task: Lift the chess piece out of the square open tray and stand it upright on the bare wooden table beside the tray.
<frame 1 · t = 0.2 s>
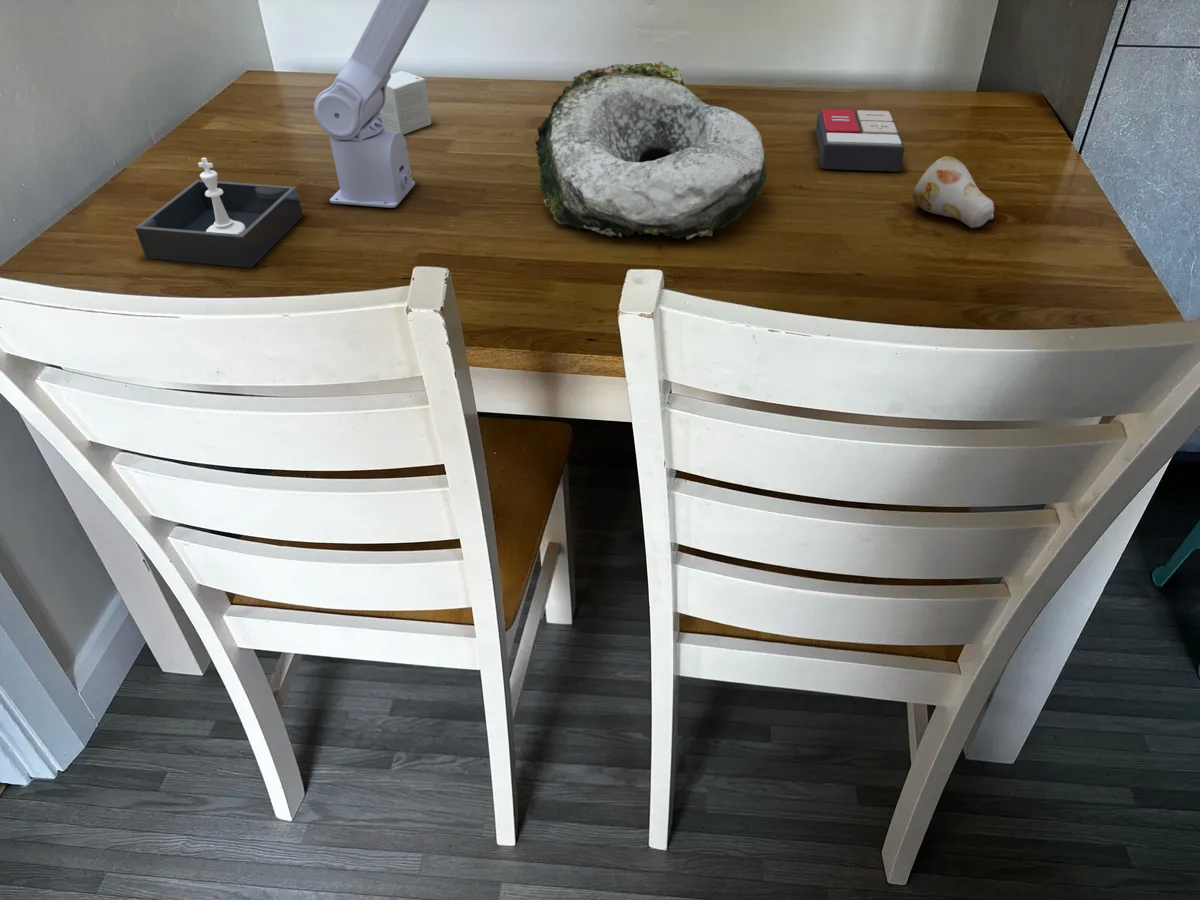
square open tray: (227, 236, 116), on the table
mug: (952, 218, 117), on the table
stone basin: (652, 203, 122), on the table
calculator: (855, 152, 134), on the table
chess piece: (227, 235, 116), resting on square open tray
product box: (405, 127, 144), on the table
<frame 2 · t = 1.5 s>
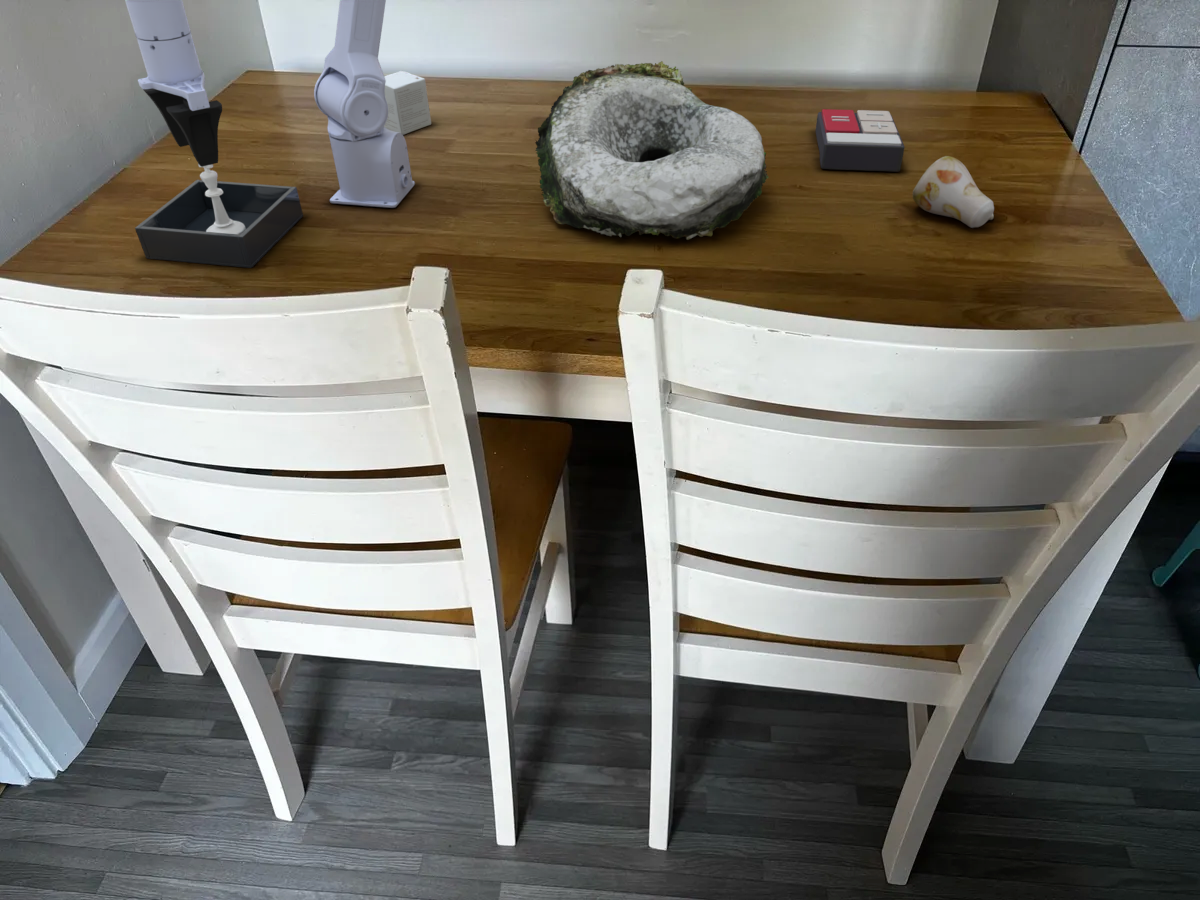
hand: (198, 154, 109), 11 cm above the table, tool pointing down, fingers open, 7 cm apart
nothing on the table moved.
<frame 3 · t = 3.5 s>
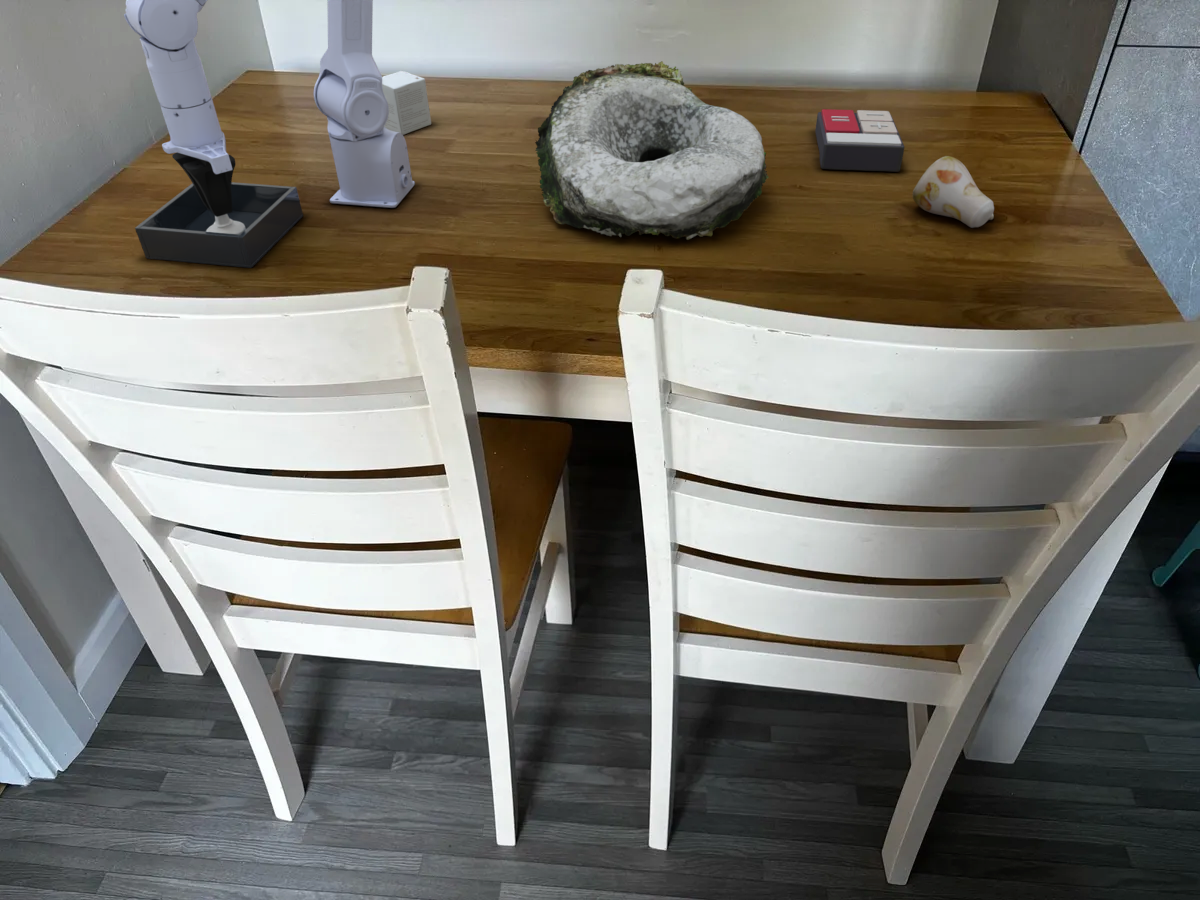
hand: (219, 210, 113), 4 cm above the table, tool pointing down, fingers closed on chess piece
chess piece: (227, 235, 116), resting on square open tray, touching gripper
everything else where it was.
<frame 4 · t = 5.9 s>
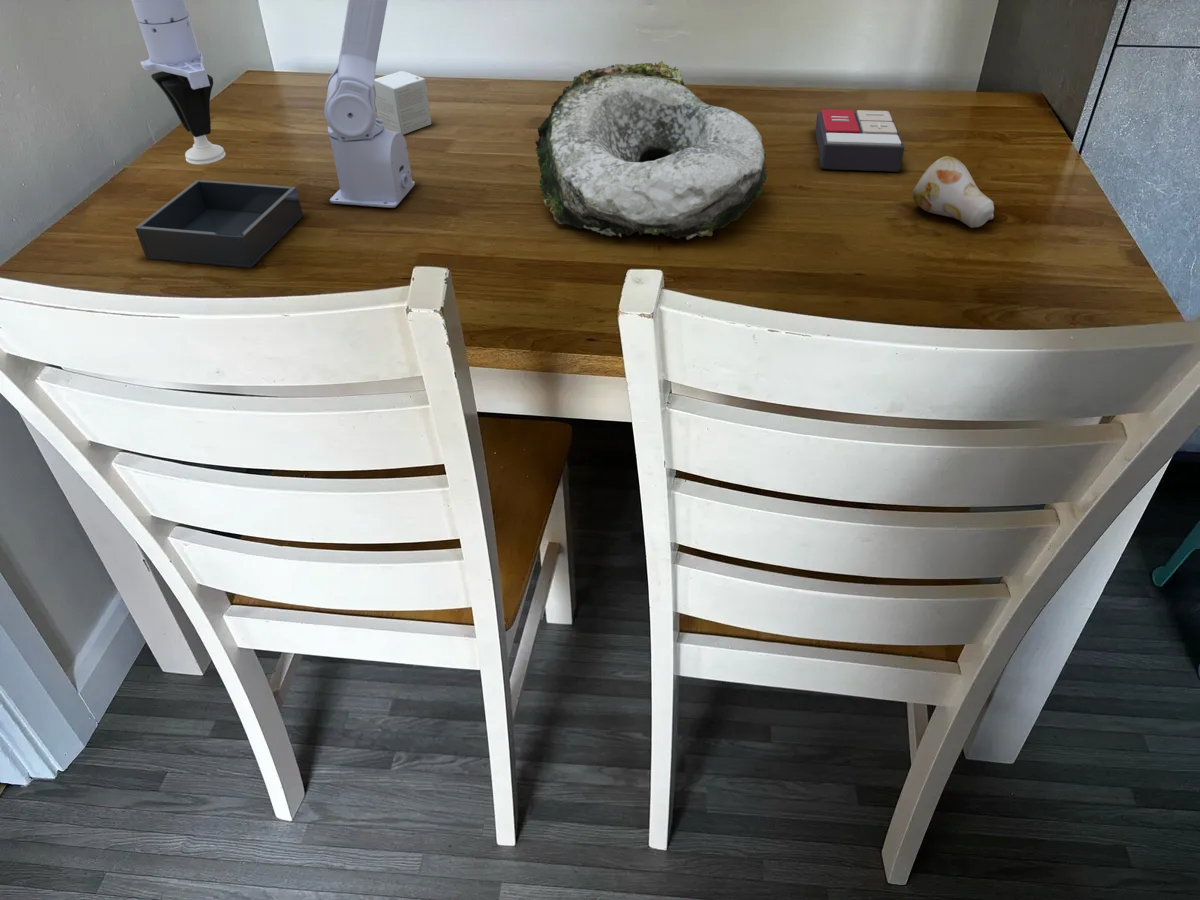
hand: (198, 131, 116), 10 cm above the table, tool pointing down, fingers closed on chess piece
chess piece: (206, 158, 118), point 7 cm above the table, touching gripper
everything else where it was.
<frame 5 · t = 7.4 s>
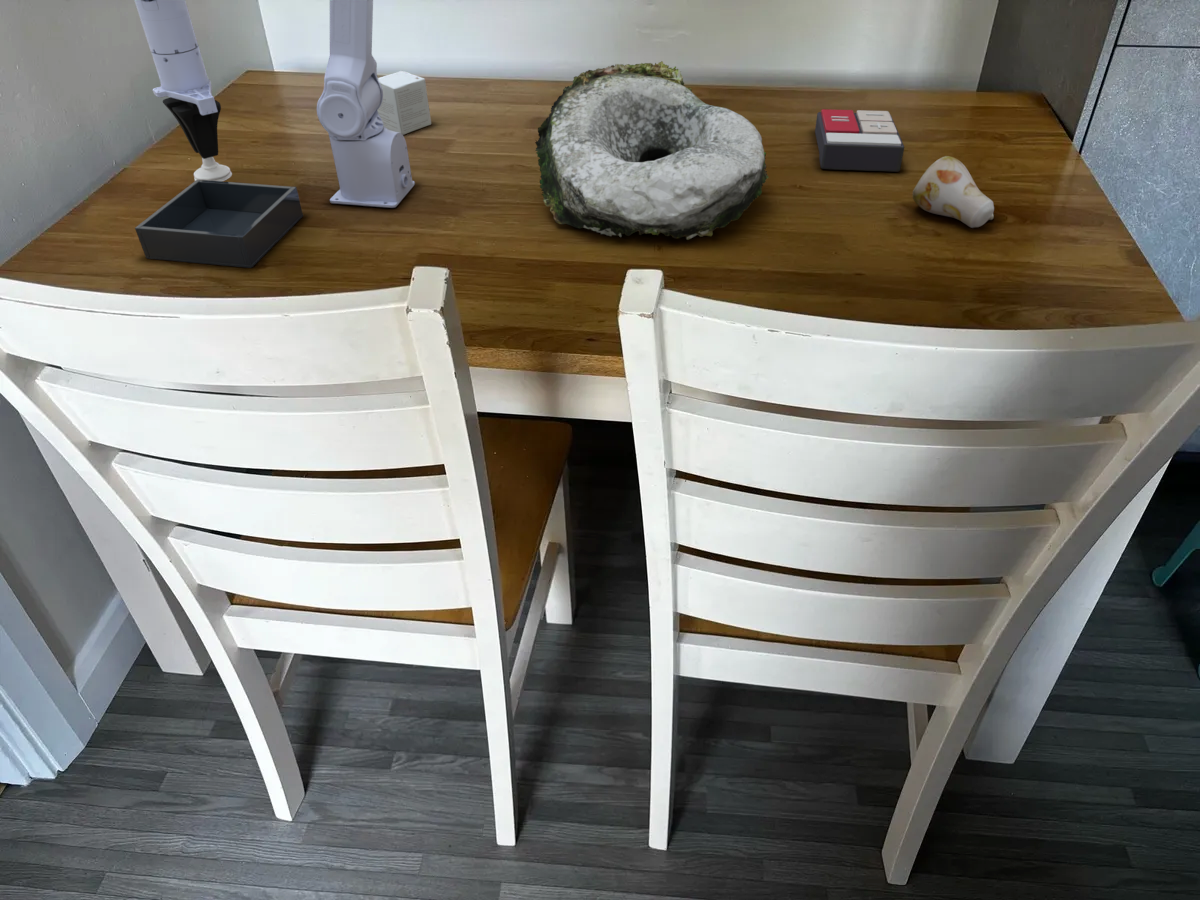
hand: (206, 153, 122), 6 cm above the table, tool pointing down, fingers closed on chess piece
chess piece: (213, 178, 125), point 2 cm above the table, touching gripper
everything else where it was.
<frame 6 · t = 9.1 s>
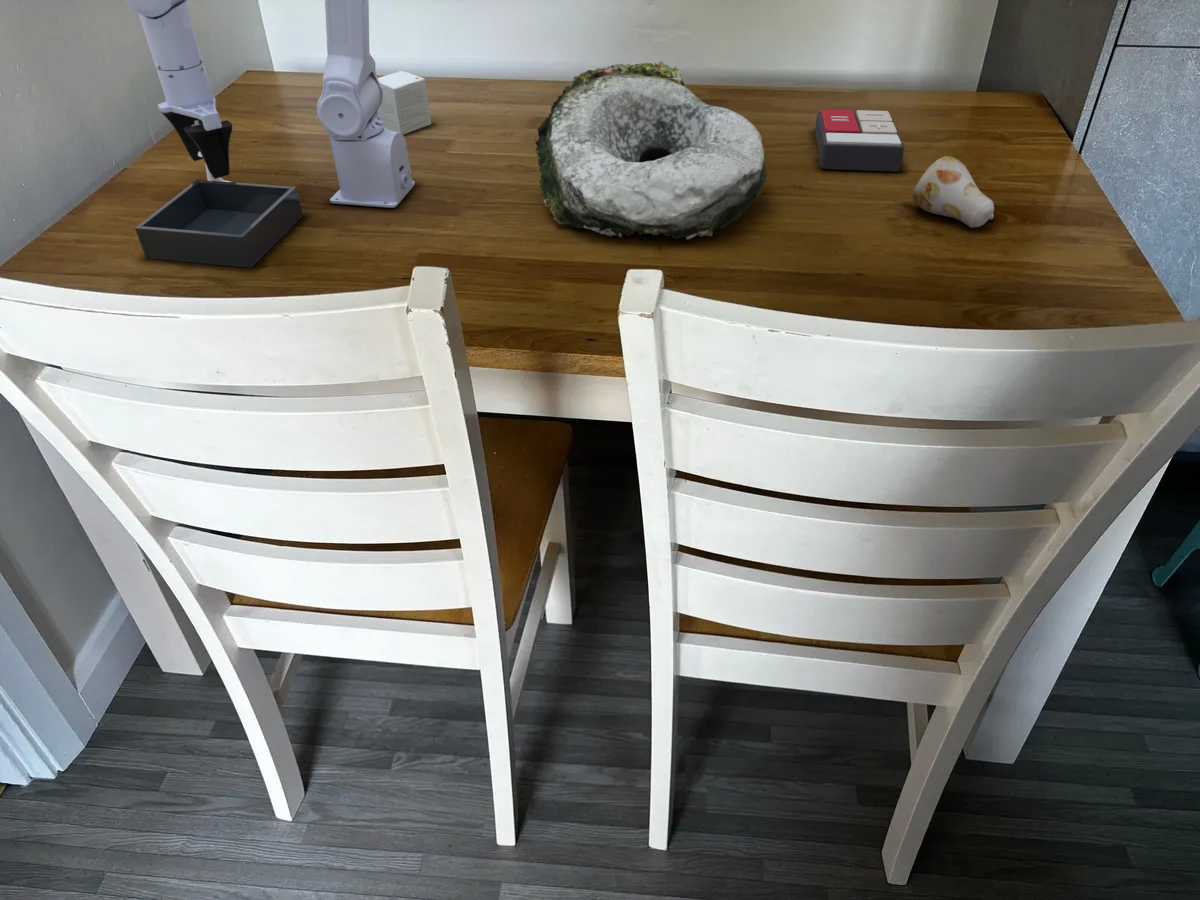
hand: (210, 167, 124), 4 cm above the table, tool pointing down, fingers open, 7 cm apart
chess piece: (218, 194, 126), on the table
everything else where it was.
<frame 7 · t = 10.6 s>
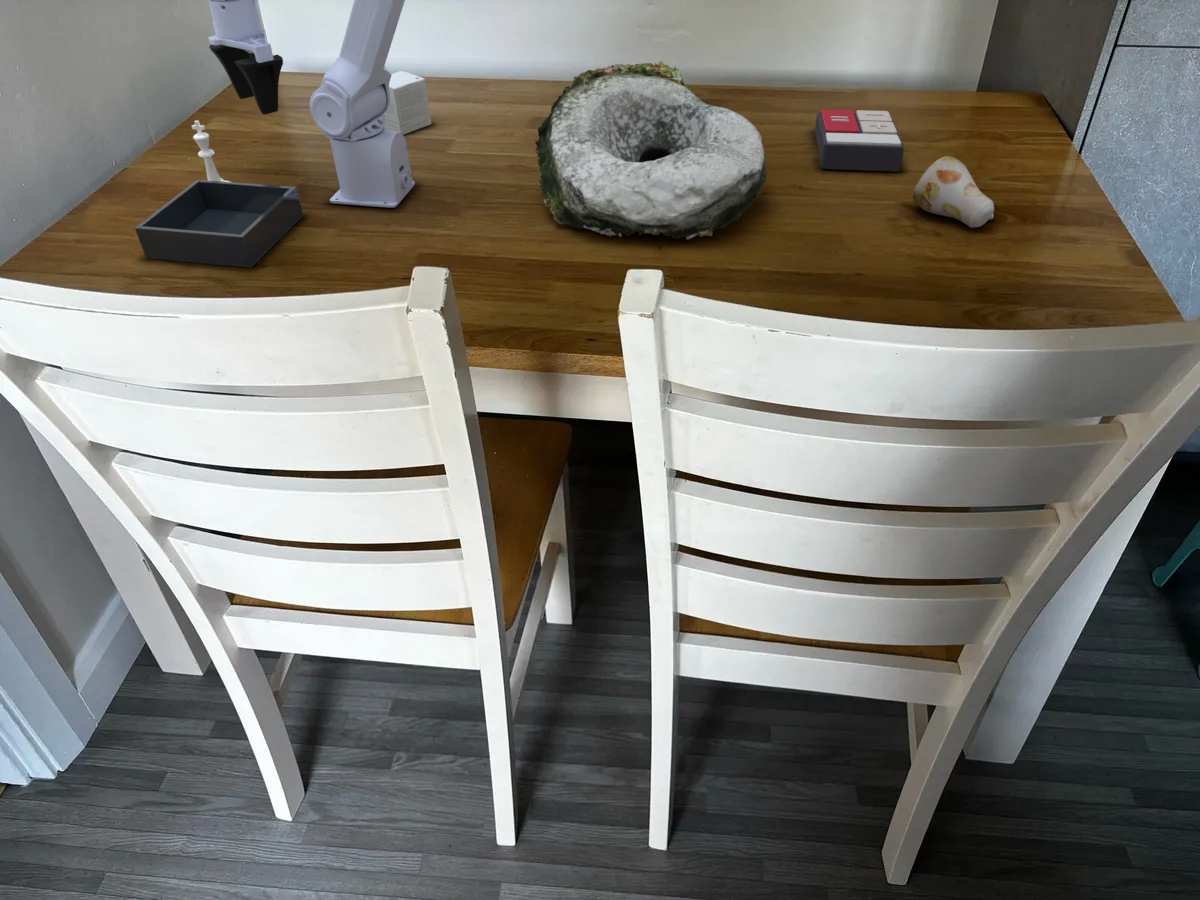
hand: (258, 104, 123), 10 cm above the table, tool pointing down, fingers open, 7 cm apart
nothing on the table moved.
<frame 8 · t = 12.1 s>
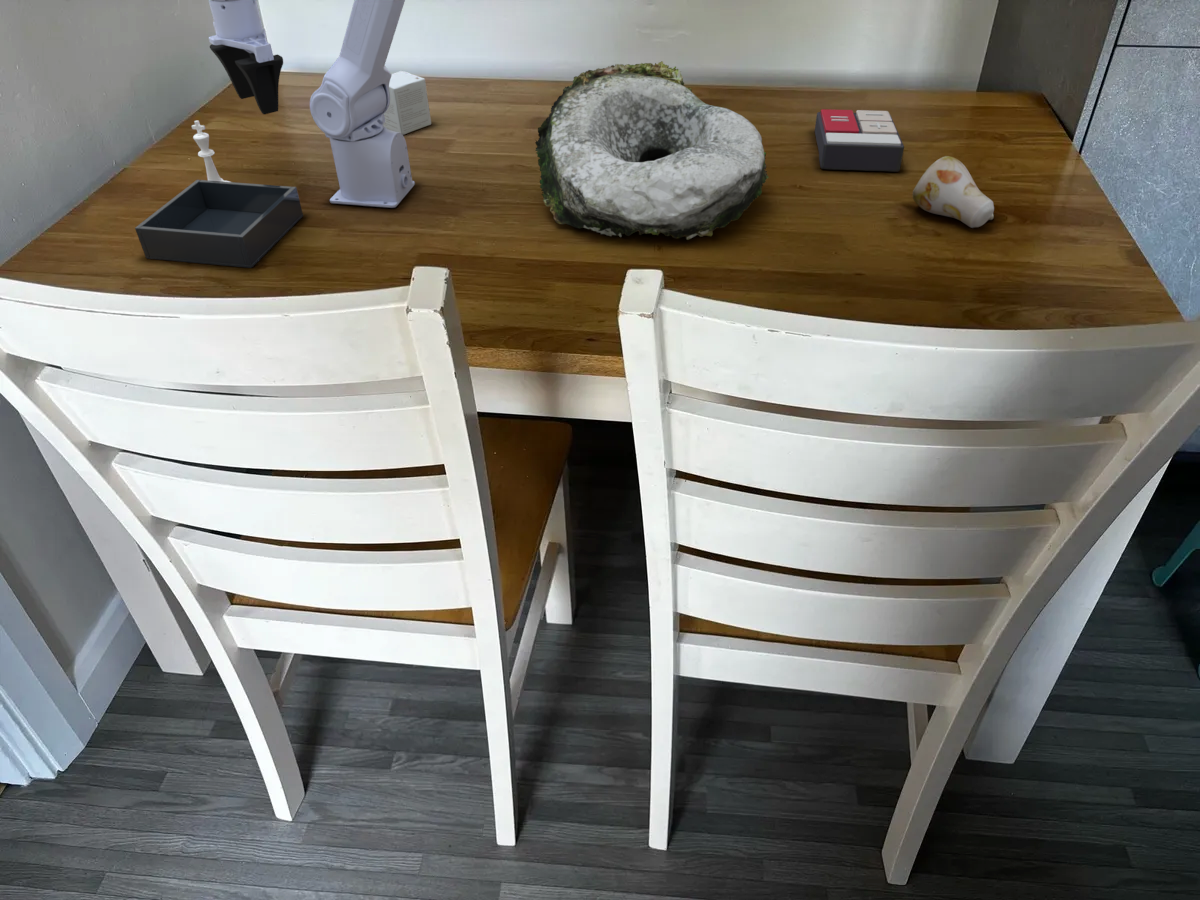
hand: (258, 104, 123), 10 cm above the table, tool pointing down, fingers open, 7 cm apart
nothing on the table moved.
at the end: chess piece inside the target area (1.0 cm from its centre), on the table; chess piece tilted 0°; the gripper is holding nothing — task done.
